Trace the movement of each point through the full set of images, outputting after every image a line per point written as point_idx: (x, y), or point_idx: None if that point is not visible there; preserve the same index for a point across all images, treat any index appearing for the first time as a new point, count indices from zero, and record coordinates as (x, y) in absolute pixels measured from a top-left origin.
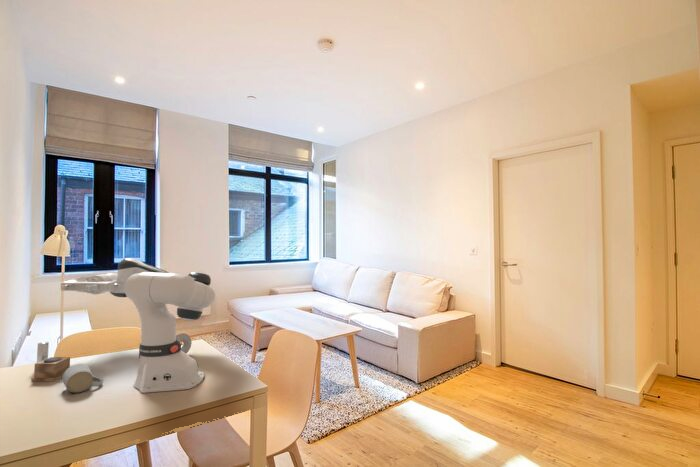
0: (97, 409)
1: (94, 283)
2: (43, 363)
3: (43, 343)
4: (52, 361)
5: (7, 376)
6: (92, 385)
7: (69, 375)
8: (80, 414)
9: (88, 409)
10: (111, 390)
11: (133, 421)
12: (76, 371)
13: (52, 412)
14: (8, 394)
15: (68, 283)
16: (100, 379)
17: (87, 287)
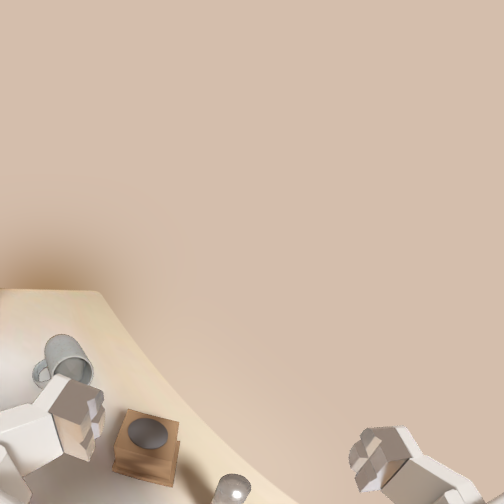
0: (39, 318)
1: (1, 490)
2: (157, 417)
3: (229, 480)
4: (140, 419)
5: (264, 480)
6: (46, 364)
7: (76, 341)
8: (55, 316)
9: (48, 321)
10: (22, 354)
11: (14, 289)
12: (66, 336)
13: (84, 330)
14: (177, 397)
15: (491, 500)
16: (36, 380)
17: (78, 386)
